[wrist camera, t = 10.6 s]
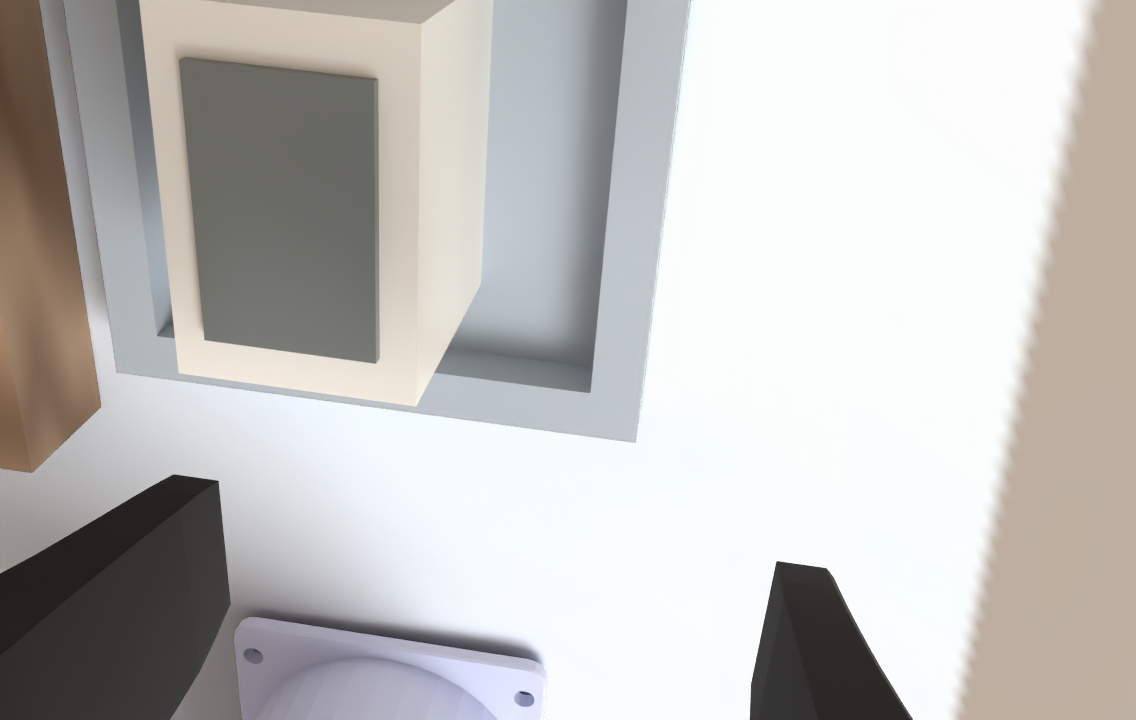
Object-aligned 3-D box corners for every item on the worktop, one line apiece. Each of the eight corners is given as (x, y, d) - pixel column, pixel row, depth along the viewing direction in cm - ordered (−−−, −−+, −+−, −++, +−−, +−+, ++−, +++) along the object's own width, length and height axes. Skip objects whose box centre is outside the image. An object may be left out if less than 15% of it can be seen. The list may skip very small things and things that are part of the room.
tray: (641, 403, 23) (635, 442, 22) (153, 339, 24) (116, 372, 23) (710, -166, 18) (708, -163, 16) (84, -220, 19) (31, -221, 17)
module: (480, 284, 22) (413, 413, 17) (289, 259, 22) (173, 379, 17) (494, -28, 19) (417, 27, 14) (275, -51, 19) (131, -5, 15)
